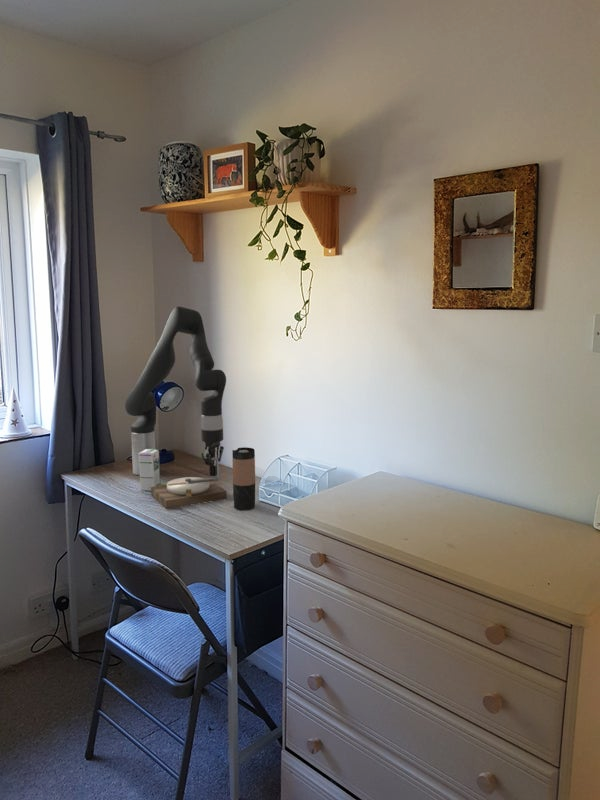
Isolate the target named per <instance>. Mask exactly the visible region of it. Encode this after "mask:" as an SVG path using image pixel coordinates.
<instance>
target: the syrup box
mask: <svg viewBox="0 0 600 800" xmlns="http://www.w3.org/2000/svg"><path fill="white" fill-rule="evenodd" d="M138 454H139V471H140V475H139V484H140V485H139V486H140V490H141V491H145V490H147V491H148V492H149V491H150V492H151V487H154V486H161V485H162V482H161V480H162V479H161V468H160V467H161V465H160V463H161V462H160V450H159V449H156V448H155V449H145V450H144V451H142V452H140V453H138ZM147 491H146V492H147Z"/></svg>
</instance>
